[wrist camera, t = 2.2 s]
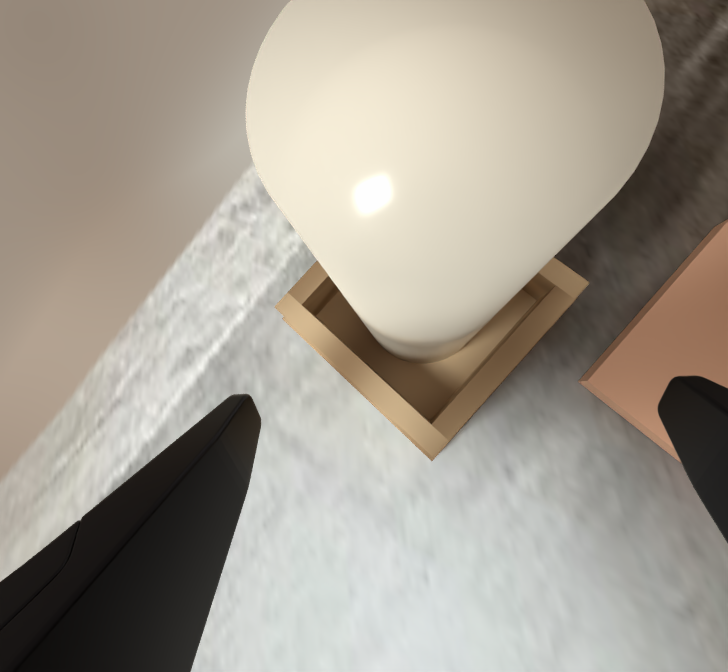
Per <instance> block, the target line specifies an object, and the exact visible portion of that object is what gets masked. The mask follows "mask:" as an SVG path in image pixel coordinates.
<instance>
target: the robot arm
mask: <svg viewBox="0 0 728 672" xmlns="http://www.w3.org/2000/svg"><path fill="white" fill-rule="evenodd" d="M658 414H659V417H660V419H661V421H662V424H663V426H664V428H665V430H666V432H667V434H668V436H669V438H670V440H671V442H672V444H673V446H674V449H675V451H676V453H677V455H678V457H679V459H680V461H681V463H682V465H683V467H684V469H685V471H686V473H687V475H688V477H689V479H690V481H691V483H692V485H693V487H694V489H695V490H696V492H697V494H698V496H699V497H700V499H701V501H702V502H703V504H704V506H705V507H706V509H707V510H708V512H709V514H710V515H711V517H712V519H713V520H714V522H715V523H716V525H717V527H718V528H719V530H720V532H721V533H722V535H723V536H724V538H725V540H726V541H727V543H728V388H726V387H724V386H722V385H719V384H717V383H715V382H713V381H711V380H709V379H707V378H704V377H702V376H696V375H692V376H676V377H674V378H672V379H671V380H670V382H669V384H668V385H667V387H666V389H665V391H664V393H663V395H662V397H661V399H660V401H659V403H658ZM260 429H261V418H260V415H259V413H258V411H257V408H256V406H255V404H254V401H253V399H252V397H251V396H250V395H249V394H234V395H231V396H230V397H228V398H227V399H226V400H224V401H223V402H222V403H221V404H220V405H218V406H217V407H216V408H215V409H213V410H212V411H211V412H210V413H209V414H207V415H206V416H205V417H204V418H203V419H201V420H200V421H199V422H198V423H196V424H195V425H194V426H193V427H192V428H190V429H189V430H188V431H187V432H185V433H184V434H183V435H182V436H181V437H179V438H178V439H177V440H176V441H174V442H173V443H172V444H171V445H170V446H168V447H167V448H166V449H165V450H163V451H162V452H161V453H160V454H159V455H157V456H156V457H155V458H154V459H152V460H151V461H150V462H149V463H148V464H146V465H145V466H144V467H143V468H142V469H140V470H139V471H138V472H137V473H135V474H134V475H133V476H132V477H131V478H129V479H128V480H127V481H126V482H124V483H123V484H122V485H121V486H120V487H118V488H117V489H116V490H115V491H113V492H112V493H111V494H110V495H109V496H107V497H106V498H105V499H104V500H102V501H101V502H100V503H99V504H98V505H96V506H95V507H94V508H93V509H91V510H90V511H89V512H88V513H87V514H85V515H84V516H83V517H82V519H81V521H77V522H75V523H74V524H73V525H72V526H71V527H69V528H68V529H67V530H66V531H64V532H63V533H62V534H61V535H60V536H58V537H57V538H56V539H55V540H53V541H52V542H51V543H50V544H48V545H47V546H46V547H45V548H43V549H42V550H41V551H40V552H38V553H37V554H36V555H35V556H33V557H32V558H31V559H30V560H28V561H27V562H26V563H25V564H23V565H22V566H21V567H19V568H18V569H17V570H15V571H14V572H13V573H11V574H10V575H9V576H8V577H6V578H5V579H4V580H2V581H1V582H0V672H191V668H192V665H193V662H194V659H195V656H196V653H197V649H198V646H199V643H200V640H201V637H202V634H203V630H204V627H205V624H206V621H207V618H208V615H209V611H210V608H211V605H212V602H213V599H214V596H215V592H216V589H217V586H218V583H219V580H220V577H221V573H222V570H223V567H224V564H225V561H226V557H227V554H228V551H229V548H230V545H231V542H232V538H233V535H234V532H235V529H236V526H237V523H238V519H239V516H240V513H241V510H242V507H243V504H244V500H245V497H246V494H247V490H248V487H249V482H250V478H251V473H252V468H253V463H254V458H255V453H256V449H257V444H258V439H259V434H260Z"/></svg>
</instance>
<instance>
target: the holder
mask: <svg viewBox="0 0 728 672" xmlns="http://www.w3.org/2000/svg"><path fill="white" fill-rule="evenodd" d="M589 283H590V282H588V281H587V280H585V279H584V278H582V277H581V276H580V275H578V274H577V273H575V272H574V271H573V270H571V269H570V268H568V267H567V266H566V265H564V264H563V263H561V262H560V261H558V260H557V259H556V258H554V257H553V258H552V259H551V260H550V261H549V262H548V263H547V264H546V265H545V266H544V267H543V268H542V269H541V270H540V271H539V272H538V273H537V274H536V275H535V276H534V277H533V278H532V279H531V280H530V281H529V282H528V283H527V284H526V285H525V286H524V287H523V288H522V289H521V290H520V291H519V292H518V293H517V294H516V295H515V296H514V297H513V298H512V299H511V300H510V301H509V302H508V303H507V304H506V305H505V306H504V307H503V308H502V309H501V310H500V311H499V312H498V313H497V314H496V315H495V316H494V317H493V318H492V319H491V320H490V321H489V322H488V323H487V324H486V325H485V326H484V327H483V328H482V329H481V330H480V331H479V332H478V333H476V334H475V335H474V336H473V337H472V338H471V339H470V340H469V341H468V342H467V343H466V344H465V345H464V346H463V347H462V348H461V349H460V350H459V351H458V352H456V353H455V354H454V355H452V356H450V357H448V358H446V359H444V360H441V361H438V362H434V363H427V364H417V363H410V362H407V361H403V360H401V359H398V358H396V357H394V356H393V355H391V354H390V353H388V352H387V351H386V350H384V349H383V348H382V346H381V345H380V344H379V343H378V342H377V340H376V339H375V338H374V336H373V335H372V334H371V332H370V331H369V330H368V328H367V327H366V326H365V324H364V323H363V321H362V320H361V319H360V317H359V316H358V315H357V313H356V312H355V311H354V309H353V308H352V306H351V305H350V304H349V302H348V301H347V300H346V298H345V297H344V296H343V294H342V293H341V292H340V290H339V289H338V287H337V286H336V285H335V283H334V282H333V281H332V279H331V278H330V277H329V275H328V274H327V272H326V271H325V270H324V268H323V267H322V266H321V264H320V263H319V262H318V260H317V261H316V262H315V263H314V264H313V266H312V267H311V268H310V269H309V270H308V271H307V272H306V273H305V274H304V275H303V276H302V277H301V279H300V280H299V281H298V282H297V283H296V284H295V285H294V286H293V287H292V288H291V289H290V290H289V292H288V293H287V294H286V295H285V296H284V297H283V298H282V299H281V300H280V301H279V302H278V303H277V305H276V306H275V308H276V309H277V310H278V311H279V312H280V313H281V314H282V315H283V316H284V317H283V318H282V319H283V320H284V321H285V322H286V323H287V324H288V325H289V326H290V327H291V328H293V329H294V330H295V331H296V332H297V333H298V334H299V335H300V336H301V337H302V338H303V339H304V340H305V341H306V342H307V343H308V344H309V345H310V346H311V347H312V348H314V349H315V350H316V351H317V352H318V353H319V354H320V355H321V356H322V357H323V358H324V359H325V360H326V361H327V362H328V363H329V364H330V365H331V366H332V367H334V368H335V369H336V370H337V371H338V372H339V373H340V374H341V375H342V376H343V377H344V378H345V379H346V380H347V381H348V382H349V383H350V384H351V385H352V386H353V387H355V388H356V389H357V390H358V391H359V392H360V393H361V394H362V395H363V396H364V397H365V398H366V399H367V400H368V401H369V402H370V403H371V404H372V405H373V406H374V407H376V408H377V409H378V410H379V411H380V412H381V413H382V414H383V415H384V416H385V417H386V418H387V419H388V420H389V421H390V422H391V423H392V424H393V425H394V426H395V427H397V428H398V429H399V430H400V431H401V432H402V433H403V434H404V435H405V436H406V437H407V438H408V439H409V440H410V441H411V442H412V443H413V444H414V445H415V446H416V447H418V448H419V449H420V450H421V451H422V452H423V453H424V454H425V455H426V456H427V457H428V458H429V459H430V460H431V461H433V459H434V458H435V457H436V456H437V455H438V454H439V453H440V452H441V450H442V449H443V448H444V447H445V446H446V445H447V444H448V443H449V441H450V440H451V439H452V438H453V437H454V436H455V435H456V434H457V432H458V431H459V430H460V429H461V428H462V427H463V426H464V425H465V423H466V422H467V421H468V420H469V419H470V418H471V417H472V416H473V414H474V413H475V412H476V411H477V410H478V409H479V408H480V407H481V405H482V404H483V403H484V402H485V401H486V400H487V399H488V398H489V396H490V395H491V394H492V393H493V392H494V391H495V390H496V389H497V388H498V386H499V385H500V384H501V383H502V382H503V381H504V380H505V379H506V377H507V376H508V375H509V374H510V373H511V372H512V371H513V370H514V368H515V367H516V366H517V365H518V364H519V363H520V362H521V361H522V359H523V358H524V357H525V356H526V355H527V354H528V353H529V352H530V350H531V349H532V348H533V347H534V346H535V345H536V344H537V343H538V341H539V340H540V339H541V338H542V337H543V336H544V335H545V334H546V332H547V331H548V330H549V329H550V328H551V327H552V326H553V325H554V323H555V322H556V321H557V320H558V319H559V318H560V317H561V316H562V314H563V313H564V312H565V311H566V310H567V309H568V308H569V307H570V305H571V304H572V303H573V302H574V301H575V300H576V299H577V298H578V297H577V296H578V295H579V294H580V293H581V292H582V291H583V290H584V289H585V288H586V286H587V285H588V284H589Z"/></svg>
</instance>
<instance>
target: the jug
mask: <svg viewBox="0 0 728 672" xmlns="http://www.w3.org/2000/svg"><path fill="white" fill-rule="evenodd" d="M664 75H665V67H664V59H663V52H662V44H661V41H660V38H659V34H658V31H657V28H656V25H655V21H654V19H653V17H652V15H651V13H650V11H649V9H648V7H647V5H646V3H645V1H644V0H290V2H289V3H288V4H287V5H286V6H285V8H284V9H283V10H282V11H281V13H280V14H279V16H278V17H277V19H276V20H275V22H274V24H273V25H272V26H271V28H270V30H269V32H268V34H267V36H266V37H265V39H264V41H263V43H262V45H261V47H260V49H259V52H258V55H257V57H256V60H255V63H254V66H253V68H252V73H251V77H250V81H249V85H248V90H247V102H246V131H247V137H248V142H249V147H250V153H251V156H252V159H253V161H254V164H255V167H256V170H257V173H258V175H259V177H260V179H261V181H262V182H263V184H264V186H265V188H266V190H267V192H268V194H269V195H270V196H271V198H272V199H273V200H274V202H275V203H276V204H277V206H278V207H279V209H280V210H281V211H282V213H283V214H284V215H285V217H286V218H287V219H288V221H289V222H290V224H291V225H292V226H293V228H294V229H295V230H296V232H297V233H298V234H299V236H300V237H301V238H302V240H303V241H304V243H305V244H306V245H307V247H308V248H309V249H310V251H311V252H312V253H313V255H314V256H315V258H316V259H317V260H318V262H319V263H320V264H321V266H322V267H323V268H324V270H325V271H326V272H327V274H328V275H329V277H330V278H331V279H332V281H333V282H334V283H335V285H336V286H337V287H338V289H339V290H340V292H341V293H342V294H343V296H344V297H345V298H346V300H347V301H348V302H349V304H350V305H351V306H352V308H353V309H354V311H355V312H356V313H357V315H358V316H359V317H360V319H361V320H362V321H363V323H364V324H365V326H366V327H367V328H368V330H369V331H370V332H371V334H372V335H373V336H374V338H375V339H376V340H377V342H378V343H379V344H380V345H381V346H382V348H383V349H384V350H386V351H387V352H388V353H390V354H391V355H393V356H394V357H396V358H398V359H401V360H403V361H407V362H410V363H417V364H427V363H434V362H438V361H441V360H444V359H446V358H448V357H450V356H452V355H454V354H455V353H456V352H458V351H459V350H460V349H461V348H462V347H463V346H464V345H465V344H466V343H467V342H468V341H469V340H470V339H471V338H472V337H473V336H474V335H475V334H476V333H478V332H479V331H480V330H481V329H482V328H483V327H484V326H485V325H486V324H487V323H488V322H489V321H490V320H491V319H492V318H493V317H494V316H495V315H496V314H497V313H498V312H499V311H500V310H501V309H502V308H503V307H504V306H505V305H506V304H507V303H508V302H509V301H510V300H511V299H512V298H513V297H514V296H515V295H516V294H517V293H518V292H519V291H520V290H521V289H522V288H523V287H524V286H525V285H526V284H527V283H528V282H529V281H530V280H531V279H532V278H533V277H534V276H535V275H536V274H537V273H538V272H539V271H540V270H541V269H542V268H543V267H544V266H545V265H546V264H547V263H548V262H549V261H550V260H551V259H552V258H553V257H554V256H555V255H556V254H557V253H558V252H559V251H560V250H561V249H562V248H563V247H564V246H565V245H566V244H567V243H568V242H569V241H570V240H571V239H572V238H573V237H574V236H575V235H576V234H577V233H578V232H579V231H580V230H581V229H582V228H583V227H584V226H585V225H586V224H587V223H588V222H589V221H590V220H591V219H592V218H593V217H594V216H595V215H596V214H597V213H598V212H599V211H600V210H601V209H602V208H603V207H604V206H605V205H606V204H607V203H608V202H609V201H610V200H611V199H612V198H613V197H614V196H615V195H616V194H617V193H618V192H619V190H620V189H621V188H622V186H623V185H624V184H625V183H626V181H627V180H628V179H629V178H630V176H631V175H632V174H633V172H634V171H635V169H636V167H637V166H638V164H639V162H640V160H641V159H642V157H643V155H644V153H645V152H646V150H647V148H648V146H649V144H650V141H651V139H652V136H653V133H654V131H655V128H656V125H657V123H658V120H659V115H660V110H661V105H662V101H663V96H664Z"/></svg>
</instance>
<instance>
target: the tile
mask: <svg viewBox="0 0 728 672" xmlns="http://www.w3.org/2000/svg"><path fill="white" fill-rule="evenodd" d="M692 375H696V376H702V377H704V378H707V379H709V380H711V381H713V382H715V383H717V384H719V385H722V386H724V387H726V388H728V220H726V221H724V222H722V223H721V224H719V225H717V226H715V227H714V228H713V229H712V230H711V231H710V232H709V234H708V235H707V236H706V237H705V238H704V239H703V240H702V241H701V243H700V244H699V245H698V246H697V247H696V248H695V249H694V251H693V252H692V253H691V254H690V255H689V256H688V257H687V258H686V260H685V261H684V262H683V263H682V264H681V265H680V266H679V268H678V269H677V270H676V271H675V272H674V273H673V274H672V276H671V277H670V278H669V279H668V280H667V281H666V282H665V283H664V285H663V286H662V287H661V288H660V289H659V290H658V291H657V293H656V294H655V295H654V296H653V297H652V298H651V299H650V300H649V302H648V303H647V304H646V305H645V306H644V307H643V308H642V310H641V311H640V312H639V313H638V314H637V315H636V316H635V317H634V319H633V320H632V321H631V322H630V323H629V324H628V325H627V327H626V328H625V329H624V330H623V331H622V332H621V333H620V335H619V336H618V337H617V338H616V339H615V340H614V341H613V342H612V344H611V345H610V346H609V347H608V348H607V349H606V350H605V352H604V353H603V354H602V355H601V356H600V357H599V358H598V359H597V361H596V362H595V363H594V364H593V365H592V366H591V367H590V369H589V370H588V371H587V372H586V373H585V374H584V375H583V376H582V378H581V379H580V380H579V381H578V382H579V383H580V384H581V385H583V386H584V387H585V388H587V389H588V390H589V391H590V392H592V393H593V394H594V395H595V396H597V397H598V398H599V399H601V400H602V401H603V402H604V403H606V404H607V405H608V406H609V407H611V408H612V409H613V410H614V411H616V412H617V413H618V414H620V415H621V416H622V417H623V418H625V419H626V420H627V421H628V422H630V423H631V424H632V425H633V426H635V427H636V428H637V429H639V430H640V431H641V432H642V433H644V434H645V435H646V436H647V437H649V438H650V439H651V440H652V441H654V442H655V443H656V444H658V445H659V446H660V447H661V448H663V449H664V450H665V451H666V452H668V453H669V454H670V455H671V456H673V457H674V458H675V459H677V460H678V461H679V462H680V463H681V461H680V459H679V457H678V455H677V453H676V451H675V449H674V446H673V444H672V442H671V440H670V438H669V436H668V434H667V432H666V430H665V428H664V426H663V424H662V421H661V419H660V417H659V414H658V403H659V401H660V399H661V397H662V395H663V393H664V391H665V389H666V387H667V385H668V384H669V382H670V380H671V379H672V378H674V377H676V376H692Z"/></svg>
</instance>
